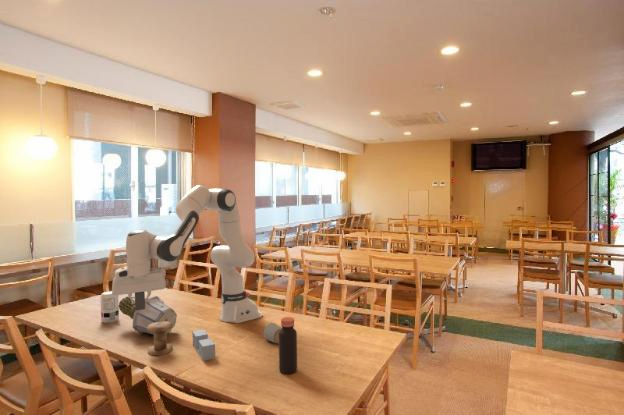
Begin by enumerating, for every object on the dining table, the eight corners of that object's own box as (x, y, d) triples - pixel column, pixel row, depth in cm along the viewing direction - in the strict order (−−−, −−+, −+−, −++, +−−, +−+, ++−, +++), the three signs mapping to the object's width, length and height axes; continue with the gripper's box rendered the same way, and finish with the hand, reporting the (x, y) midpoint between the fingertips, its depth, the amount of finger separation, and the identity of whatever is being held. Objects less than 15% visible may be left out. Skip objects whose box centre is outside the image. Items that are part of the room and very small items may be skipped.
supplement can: (97, 322, 200) (96, 294, 199) (111, 317, 207) (110, 290, 206) (109, 324, 197) (108, 295, 196) (122, 319, 204) (121, 291, 203)
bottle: (297, 366, 149) (296, 316, 148) (297, 374, 142) (296, 322, 141) (279, 366, 149) (279, 316, 148) (278, 375, 142) (278, 322, 141)
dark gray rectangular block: (144, 306, 160) (143, 290, 160) (145, 309, 157) (144, 292, 157) (135, 308, 159) (134, 291, 158) (135, 310, 155) (135, 293, 155)
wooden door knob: (170, 343, 171) (170, 319, 171) (174, 352, 163) (173, 326, 162) (146, 348, 166) (145, 323, 166) (149, 357, 158) (148, 331, 157)
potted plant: (183, 301, 187) (139, 281, 198) (155, 314, 171) (108, 291, 182) (179, 333, 191) (135, 311, 201) (151, 348, 174) (105, 324, 185)
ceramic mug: (274, 346, 168) (274, 329, 167) (263, 341, 173) (263, 324, 173) (292, 340, 175) (292, 323, 175) (281, 335, 181) (281, 319, 180)
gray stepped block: (204, 342, 173) (203, 329, 173) (215, 358, 156) (214, 344, 156) (192, 344, 171) (192, 331, 170) (202, 361, 154) (202, 346, 154)
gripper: (164, 265, 165) (165, 296, 165) (111, 270, 155) (112, 304, 156) (166, 268, 159) (167, 300, 160) (111, 274, 149) (112, 308, 150)
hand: (140, 302), depth 158 cm, fingers closed on dark gray rectangular block, 3 cm apart
